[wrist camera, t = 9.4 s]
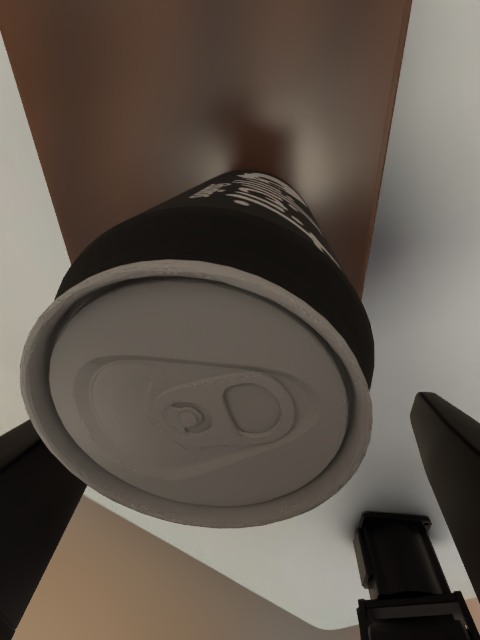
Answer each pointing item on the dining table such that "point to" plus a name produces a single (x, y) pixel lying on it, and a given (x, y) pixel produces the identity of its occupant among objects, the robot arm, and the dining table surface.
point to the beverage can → (207, 360)
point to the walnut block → (209, 104)
